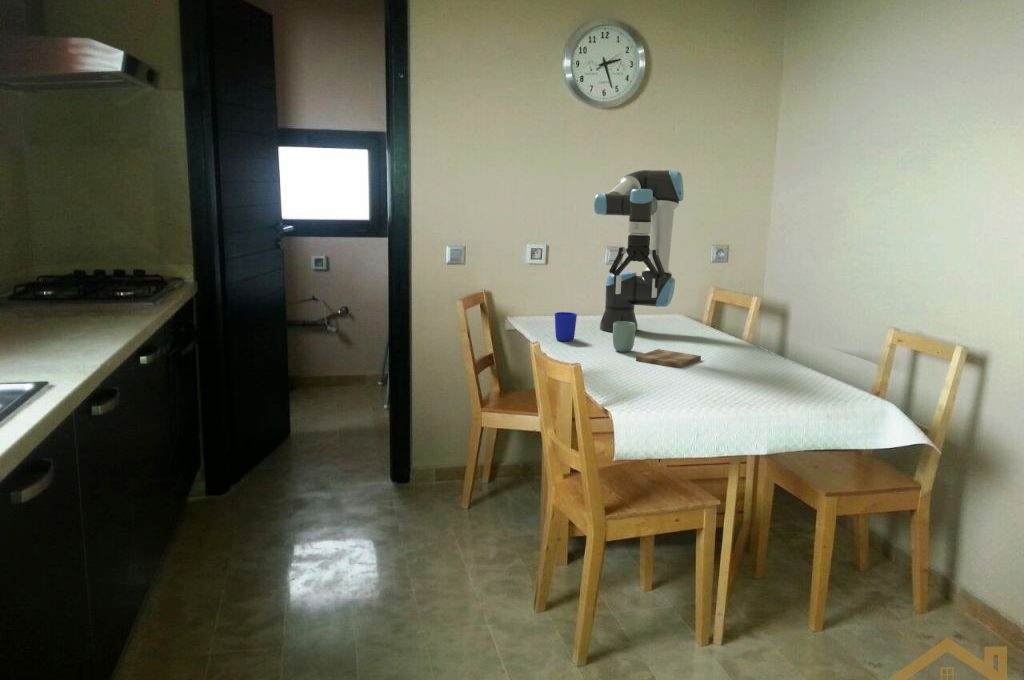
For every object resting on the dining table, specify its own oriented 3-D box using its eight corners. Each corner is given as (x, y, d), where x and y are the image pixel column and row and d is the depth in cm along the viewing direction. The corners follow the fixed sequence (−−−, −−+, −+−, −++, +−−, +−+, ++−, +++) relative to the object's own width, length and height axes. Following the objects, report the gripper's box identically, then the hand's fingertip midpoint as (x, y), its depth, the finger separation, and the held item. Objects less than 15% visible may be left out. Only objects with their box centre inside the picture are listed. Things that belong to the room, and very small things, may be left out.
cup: (633, 354, 277) (635, 325, 276) (611, 352, 279) (612, 324, 277) (634, 349, 285) (636, 321, 283) (612, 348, 286) (614, 320, 285)
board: (635, 360, 267) (636, 356, 267) (657, 353, 279) (658, 348, 279) (680, 368, 258) (680, 363, 257) (700, 360, 270) (701, 355, 270)
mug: (576, 336, 306) (577, 310, 304) (575, 342, 295) (576, 316, 293) (554, 335, 307) (555, 310, 305) (553, 341, 295) (554, 315, 293)
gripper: (601, 232, 279) (598, 293, 283) (669, 236, 266) (665, 299, 270) (611, 232, 285) (608, 291, 289) (677, 235, 272) (673, 297, 276)
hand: (635, 295), depth 279 cm, fingers open, 13 cm apart
